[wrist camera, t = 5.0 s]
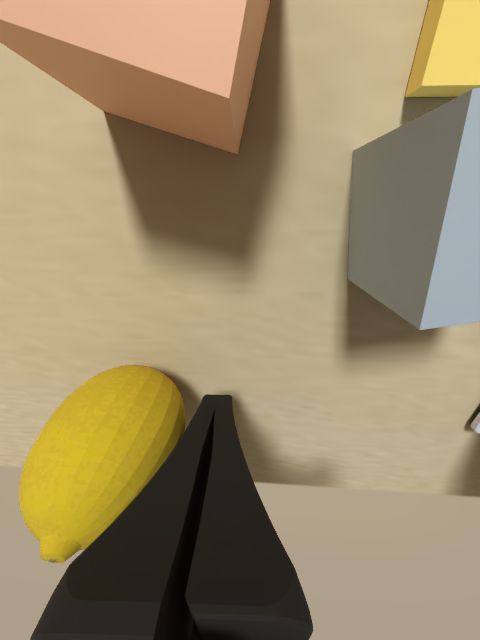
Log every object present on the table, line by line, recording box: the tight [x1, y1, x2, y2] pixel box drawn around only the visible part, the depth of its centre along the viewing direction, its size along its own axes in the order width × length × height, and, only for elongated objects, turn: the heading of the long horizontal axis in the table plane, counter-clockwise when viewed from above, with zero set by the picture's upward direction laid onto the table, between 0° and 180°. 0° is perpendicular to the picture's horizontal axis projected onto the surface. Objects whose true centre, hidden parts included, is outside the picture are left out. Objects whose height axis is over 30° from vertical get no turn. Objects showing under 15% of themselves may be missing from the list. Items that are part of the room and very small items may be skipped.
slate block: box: [347, 88, 480, 330], centre depth 7 cm, size 5×5×5 cm
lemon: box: [19, 365, 185, 563], centre depth 10 cm, size 6×6×8 cm
